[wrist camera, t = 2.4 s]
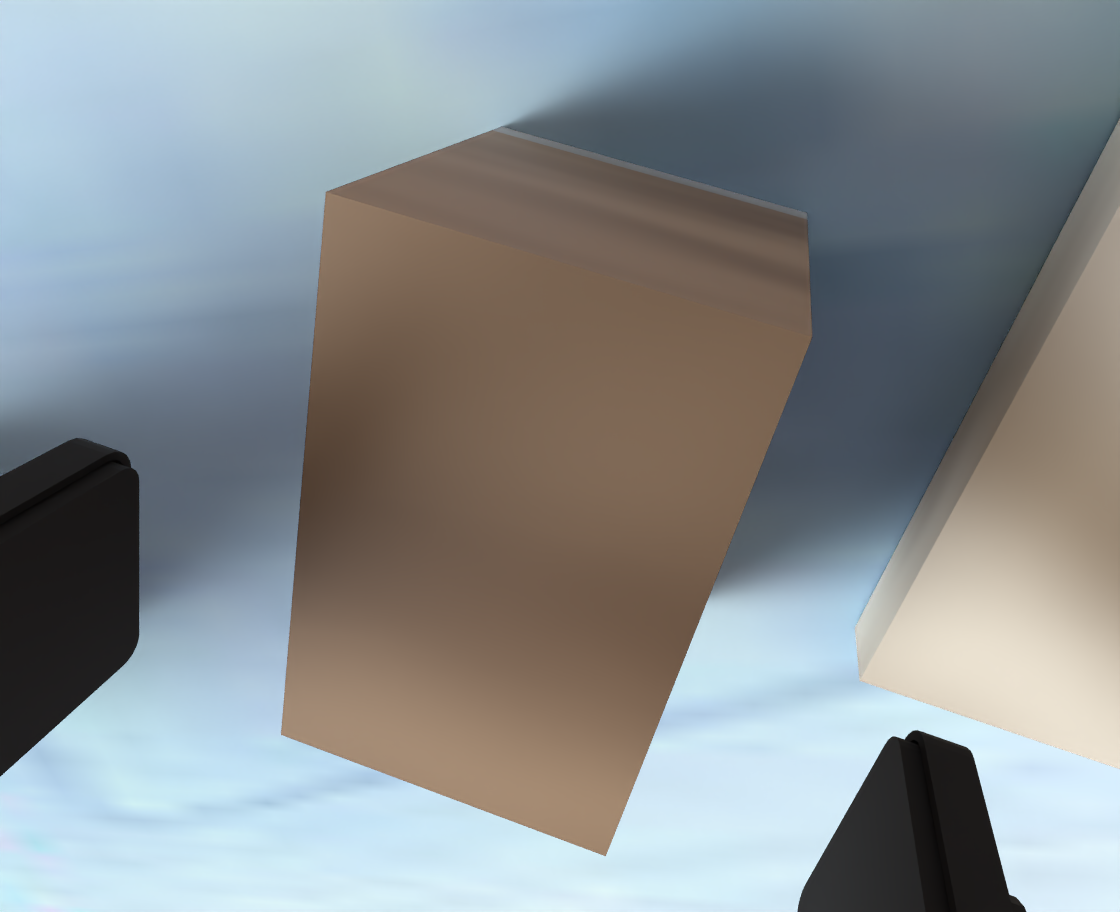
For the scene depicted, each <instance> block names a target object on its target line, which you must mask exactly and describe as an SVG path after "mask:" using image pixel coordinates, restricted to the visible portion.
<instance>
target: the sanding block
mask: <svg viewBox="0 0 1120 912" xmlns="http://www.w3.org/2000/svg"><path fill="white" fill-rule="evenodd" d="M811 339H812V318H811V294H810V270H809V246H808V222H807V213H806V212H803V211H799V210H796V209H792V208H788V207H785V206H781V205H778V204H774V203H771V202H767V201H764V200H760V199H757V198H753V197H750V196H746V195H742V194H739V193H735V192H732V191H728V190H725V189H721V188H718V187H714V186H711V185H707V184H704V183H700V182H696V181H693V180H689V179H686V178H682V177H679V176H675V175H672V174H668V173H665V172H661V171H657V170H654V169H650V168H647V167H643V166H640V165H636V164H633V163H629V162H626V161H622V160H619V159H615V158H611V157H608V156H604V155H601V154H597V153H594V152H590V151H587V150H583V149H580V148H576V147H573V146H569V145H565V144H562V143H558V142H555V141H551V140H548V139H544V138H541V137H537V136H534V135H530V134H527V133H523V132H519V131H516V130H512V129H509V128H505V127H499V128H497V129H494V130H491V131H489V132H486V133H483V134H481V135H478V136H475V137H472V138H470V139H467V140H464V141H462V142H459V143H456V144H454V145H451V146H448V147H446V148H443V149H440V150H438V151H435V152H432V153H429V154H427V155H424V156H421V157H419V158H416V159H413V160H411V161H408V162H405V163H403V164H400V165H397V166H394V167H392V168H389V169H386V170H384V171H381V172H378V173H376V174H373V175H370V176H368V177H365V178H362V179H360V180H357V181H354V182H351V183H349V184H346V185H343V186H341V187H338V188H335V189H333V190H330V191H327V192H326V197H325V209H324V221H323V233H322V245H321V257H320V269H319V281H318V294H317V306H316V318H315V330H314V342H313V354H312V366H311V378H310V390H309V403H308V415H307V427H306V439H305V451H304V463H303V475H302V487H301V500H300V512H299V524H298V536H297V548H296V560H295V572H294V584H293V596H292V609H291V621H290V633H289V645H288V657H287V669H286V681H285V693H284V705H283V718H282V730H281V735H283V736H286V737H289V738H291V739H294V740H297V741H299V742H302V743H305V744H307V745H310V746H313V747H315V748H318V749H321V750H323V751H326V752H329V753H331V754H334V755H337V756H339V757H342V758H345V759H347V760H350V761H353V762H355V763H358V764H361V765H363V766H366V767H369V768H371V769H374V770H377V771H379V772H382V773H385V774H387V775H390V776H393V777H396V778H398V779H401V780H404V781H406V782H409V783H412V784H414V785H417V786H420V787H422V788H425V789H428V790H430V791H433V792H436V793H438V794H441V795H444V796H446V797H449V798H452V799H454V800H457V801H460V802H462V803H465V804H468V805H470V806H473V807H476V808H478V809H481V810H484V811H486V812H489V813H492V814H494V815H497V816H500V817H502V818H505V819H508V820H510V821H513V822H516V823H518V824H521V825H524V826H526V827H529V828H532V829H534V830H537V831H540V832H542V833H545V834H548V835H550V836H553V837H556V838H558V839H561V840H564V841H567V842H569V843H572V844H575V845H577V846H580V847H583V848H585V849H588V850H591V851H593V852H596V853H599V854H601V855H604V856H606V854H607V852H608V849H609V846H610V844H611V841H612V839H613V836H614V834H615V831H616V829H617V826H618V824H619V821H620V819H621V816H622V814H623V811H624V809H625V806H626V804H627V801H628V799H629V796H630V794H631V791H632V789H633V786H634V784H635V781H636V779H637V776H638V774H639V771H640V769H641V766H642V764H643V761H644V759H645V756H646V754H647V751H648V749H649V746H650V743H651V741H652V738H653V736H654V733H655V731H656V728H657V726H658V723H659V721H660V718H661V716H662V713H663V711H664V708H665V706H666V703H667V701H668V698H669V696H670V693H671V691H672V688H673V686H674V683H675V681H676V678H677V676H678V673H679V671H680V668H681V666H682V663H683V661H684V658H685V656H686V653H687V651H688V648H689V646H690V643H691V641H692V638H693V635H694V633H695V630H696V628H697V625H698V623H699V620H700V618H701V615H702V613H703V610H704V608H705V605H706V603H707V600H708V598H709V595H710V593H711V590H712V588H713V585H714V583H715V580H716V578H717V575H718V573H719V570H720V568H721V565H722V563H723V560H724V558H725V555H726V553H727V550H728V548H729V545H730V543H731V540H732V538H733V535H734V532H735V530H736V527H737V525H738V522H739V520H740V517H741V515H742V512H743V510H744V507H745V505H746V502H747V500H748V497H749V495H750V492H751V490H752V487H753V485H754V482H755V480H756V477H757V475H758V472H759V470H760V467H761V465H762V462H763V460H764V457H765V455H766V452H767V450H768V447H769V445H770V442H771V440H772V437H773V435H774V432H775V430H776V427H777V424H778V422H779V419H780V417H781V414H782V412H783V409H784V407H785V404H786V402H787V399H788V397H789V394H790V392H791V389H792V387H793V384H794V382H795V379H796V377H797V374H798V372H799V369H800V367H801V364H802V362H803V359H804V357H805V354H806V352H807V349H808V347H809V344H810V342H811Z"/></svg>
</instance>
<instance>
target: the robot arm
mask: <svg viewBox="0 0 1120 912" xmlns="http://www.w3.org/2000/svg"><path fill="white" fill-rule="evenodd" d="M138 639H139V476H138V474H137V472H136V471H135V470H134V469H132V468H131V464H130V460H129V459H128V457H127V455H125V454H124V453H122V452H120V451H117V450H114V449H111V448H109V447H106V446H103V445H100V444H97V443H94V442H91V441H88V440H86V439H80V438H75V439H73V440H70V441H67V442H65V443H63V444H61V445H60V446H58V447H56V448H54V449H52V450H50V451H48V452H46V453H44V454H42V455H41V456H39V457H37V458H35V459H33V460H31V461H29V462H27V463H25V464H23V465H21V466H20V467H18V468H16V469H14V470H12V471H10V472H8V473H6V474H4V475H2V476H0V776H1V775H3V774H4V773H5V772H6V771H7V770H8V769H9V768H10V767H11V766H13V765H14V764H15V763H16V762H17V761H18V760H19V759H20V758H21V757H22V756H24V755H25V754H26V753H27V752H28V751H29V750H30V749H31V748H32V747H34V746H35V745H36V744H37V743H38V742H39V741H40V740H41V739H42V738H44V737H45V736H46V735H47V734H48V733H49V732H50V731H51V730H52V729H54V728H55V727H56V726H57V725H58V724H59V723H60V722H61V721H62V720H63V719H65V718H66V717H67V716H68V715H69V714H70V713H71V712H72V711H73V710H75V709H76V708H77V707H78V706H79V705H80V704H81V703H82V702H83V701H85V700H86V699H87V698H88V697H89V696H90V695H91V694H92V693H93V692H94V691H96V690H97V689H98V688H99V687H100V686H101V685H102V684H103V683H104V682H106V681H107V680H108V679H109V678H110V677H111V676H112V675H113V674H114V673H116V672H117V671H118V670H119V669H120V668H121V667H122V666H123V665H124V664H125V663H126V662H127V661H128V660H129V658H130V657H131V655H132V654H133V652H134V650H135V648H136V646H137V643H138ZM798 912H1026V910H1025V907H1024V906H1023V905H1022V904H1021V903H1020V901H1019V900H1018V899H1017V898H1016V897H1014V896H1011V895H1009V893H1008V889H1007V885H1006V881H1005V877H1004V873H1003V869H1002V865H1001V861H1000V858H999V854H998V850H997V846H996V842H995V838H994V834H993V830H992V827H991V823H990V819H989V815H988V811H987V807H986V803H985V799H984V796H983V792H982V788H981V784H980V780H979V776H978V772H977V768H976V765H975V761H974V757H973V755H972V753H971V751H970V750H969V749H968V748H967V747H964V746H961V745H958V744H955V743H953V742H950V741H947V740H944V739H941V738H938V737H935V736H933V735H930V734H927V733H924V732H921V731H918V730H916V731H912V732H911V733H910V734H908V736H907V737H906V738H905V740H904V739H901V738H898V737H891V738H890V739H889V740H888V741H887V743H886V744H885V746H884V747H883V749H882V751H881V753H880V754H879V756H878V758H877V760H876V761H875V763H874V765H873V767H872V769H871V770H870V772H869V774H868V776H867V777H866V779H865V781H864V783H863V784H862V786H861V788H860V790H859V791H858V793H857V795H856V797H855V798H854V800H853V802H852V804H851V805H850V807H849V809H848V811H847V812H846V814H845V816H844V818H843V819H842V821H841V823H840V825H839V826H838V828H837V830H836V832H835V834H834V835H833V837H832V839H831V841H830V842H829V844H828V846H827V848H826V849H825V851H824V853H823V855H822V856H821V858H820V860H819V862H818V863H817V865H816V867H815V869H814V870H813V872H812V874H811V876H810V877H809V879H808V881H807V883H806V884H805V887H804V889H803V891H802V894H801V897H800V901H799V905H798Z"/></svg>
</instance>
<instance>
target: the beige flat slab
mask: <svg viewBox="0 0 1120 912" xmlns="http://www.w3.org/2000/svg"><path fill="white" fill-rule="evenodd" d="M855 635H856V646H857V657H858V668H859V678H860V681H862V682H865V683H868V684H871V685H874V686H877V687H880V688H883V689H886V690H888V691H891V692H894V693H897V694H900V695H903V696H906V697H909V698H912V699H915V700H918V701H921V702H924V703H927V704H930V705H933V706H936V707H939V708H941V709H944V710H947V711H950V712H953V713H956V714H959V715H962V716H965V717H968V718H971V719H974V720H977V721H980V722H983V723H986V724H989V725H992V726H994V727H997V728H1000V729H1003V730H1006V731H1009V732H1012V733H1015V734H1018V735H1021V736H1024V737H1027V738H1030V739H1033V740H1036V741H1039V742H1042V743H1045V744H1048V745H1050V746H1053V747H1056V748H1059V749H1062V750H1065V751H1068V752H1071V753H1074V754H1077V755H1080V756H1083V757H1086V758H1089V759H1092V760H1095V761H1098V762H1101V763H1103V764H1106V765H1109V766H1112V767H1115V768H1118V769H1120V119H1119V121H1118V123H1117V125H1116V127H1115V128H1114V130H1113V132H1112V134H1111V136H1110V138H1109V140H1108V142H1107V144H1106V146H1105V148H1104V150H1103V152H1102V153H1101V155H1100V157H1099V159H1098V161H1097V163H1096V165H1095V167H1094V169H1093V171H1092V173H1091V175H1090V177H1089V178H1088V180H1087V182H1086V184H1085V186H1084V188H1083V190H1082V192H1081V194H1080V196H1079V198H1078V200H1077V202H1076V203H1075V205H1074V207H1073V209H1072V211H1071V213H1070V215H1069V217H1068V219H1067V221H1066V223H1065V225H1064V226H1063V228H1062V230H1061V232H1060V234H1059V236H1058V238H1057V240H1056V242H1055V244H1054V246H1053V248H1052V250H1051V251H1050V253H1049V255H1048V257H1047V259H1046V261H1045V263H1044V265H1043V267H1042V269H1041V271H1040V273H1039V275H1038V276H1037V278H1036V280H1035V282H1034V284H1033V286H1032V288H1031V290H1030V292H1029V294H1028V296H1027V298H1026V300H1025V301H1024V303H1023V305H1022V307H1021V309H1020V311H1019V313H1018V315H1017V317H1016V319H1015V321H1014V323H1013V325H1012V326H1011V328H1010V330H1009V332H1008V334H1007V336H1006V338H1005V340H1004V342H1003V344H1002V346H1001V348H1000V350H999V351H998V353H997V355H996V357H995V359H994V361H993V363H992V365H991V367H990V369H989V371H988V373H987V375H986V376H985V378H984V380H983V382H982V384H981V386H980V388H979V390H978V392H977V394H976V396H975V398H974V399H973V401H972V403H971V405H970V407H969V409H968V411H967V413H966V415H965V417H964V419H963V421H962V423H961V424H960V426H959V428H958V430H957V432H956V434H955V436H954V438H953V440H952V442H951V444H950V446H949V448H948V449H947V451H946V453H945V455H944V457H943V459H942V461H941V463H940V465H939V467H938V469H937V471H936V473H935V474H934V476H933V478H932V480H931V482H930V484H929V486H928V488H927V490H926V492H925V494H924V496H923V498H922V499H921V501H920V503H919V505H918V507H917V509H916V511H915V513H914V515H913V517H912V519H911V521H910V523H909V524H908V526H907V528H906V530H905V532H904V534H903V536H902V538H901V540H900V542H899V544H898V546H897V548H896V549H895V551H894V553H893V555H892V557H891V559H890V561H889V563H888V565H887V567H886V569H885V571H884V572H883V574H882V576H881V578H880V580H879V582H878V584H877V586H876V588H875V590H874V592H873V594H872V596H871V597H870V599H869V601H868V603H867V605H866V607H865V609H864V611H863V613H862V615H861V617H860V619H859V621H858V622H857V624H856V626H855Z"/></svg>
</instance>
